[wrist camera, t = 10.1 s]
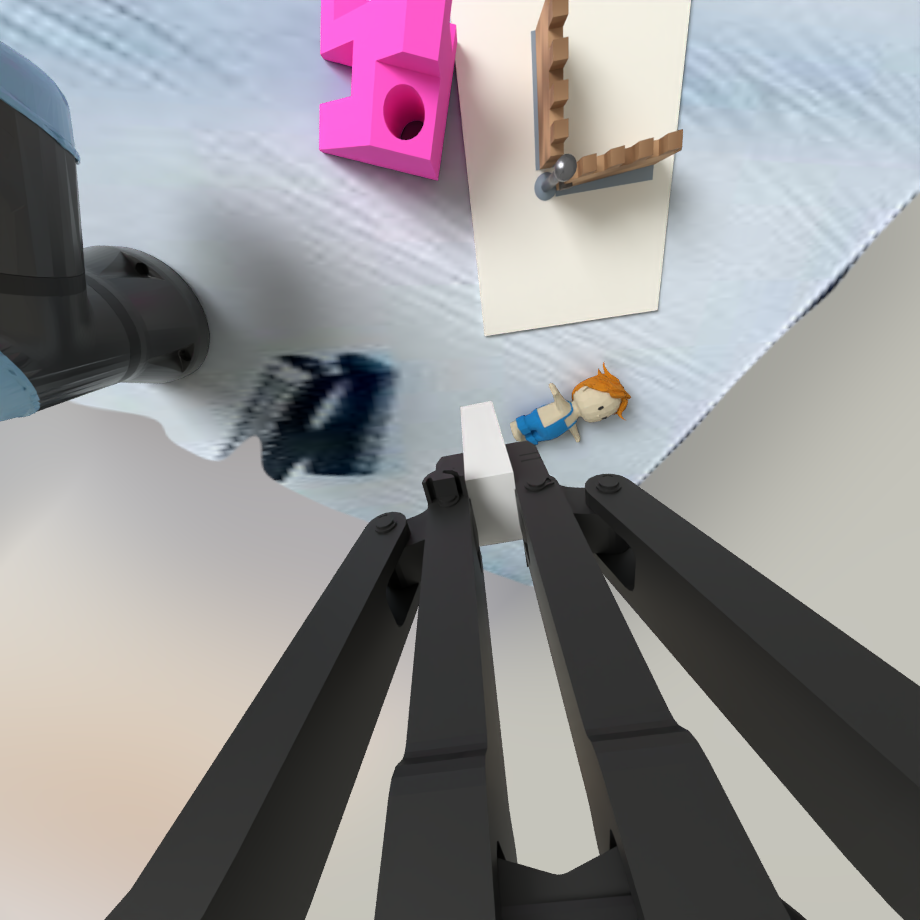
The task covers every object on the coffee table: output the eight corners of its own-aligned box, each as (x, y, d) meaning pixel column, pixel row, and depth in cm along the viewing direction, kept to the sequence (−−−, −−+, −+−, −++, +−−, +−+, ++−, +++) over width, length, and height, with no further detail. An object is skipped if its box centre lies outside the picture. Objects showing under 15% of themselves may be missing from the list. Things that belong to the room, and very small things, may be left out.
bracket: (457, 42, 32) (451, -48, 23) (437, 180, 37) (426, 151, 28) (324, 5, 32) (265, -102, 23) (322, 152, 36) (272, 112, 27)
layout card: (484, 335, 45) (484, 336, 44) (448, -7, 31) (447, -11, 31) (655, 309, 44) (657, 310, 43) (695, -60, 30) (698, -65, 30)
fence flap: (554, 194, 38) (572, 181, 32) (553, 173, 37) (570, 155, 31) (654, 167, 37) (691, 148, 31) (655, 145, 36) (693, 121, 30)
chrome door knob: (537, 198, 38) (555, 182, 31) (536, 177, 37) (555, 155, 30) (554, 195, 38) (576, 178, 31) (554, 174, 37) (577, 151, 30)
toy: (503, 425, 44) (627, 366, 39) (494, 393, 48) (606, 336, 43) (537, 473, 52) (643, 429, 47) (528, 442, 56) (624, 399, 51)
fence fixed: (551, 167, 37) (568, 148, 31) (539, 169, 37) (554, 151, 31) (548, 27, 32) (568, -26, 26) (535, 30, 32) (552, -22, 26)
